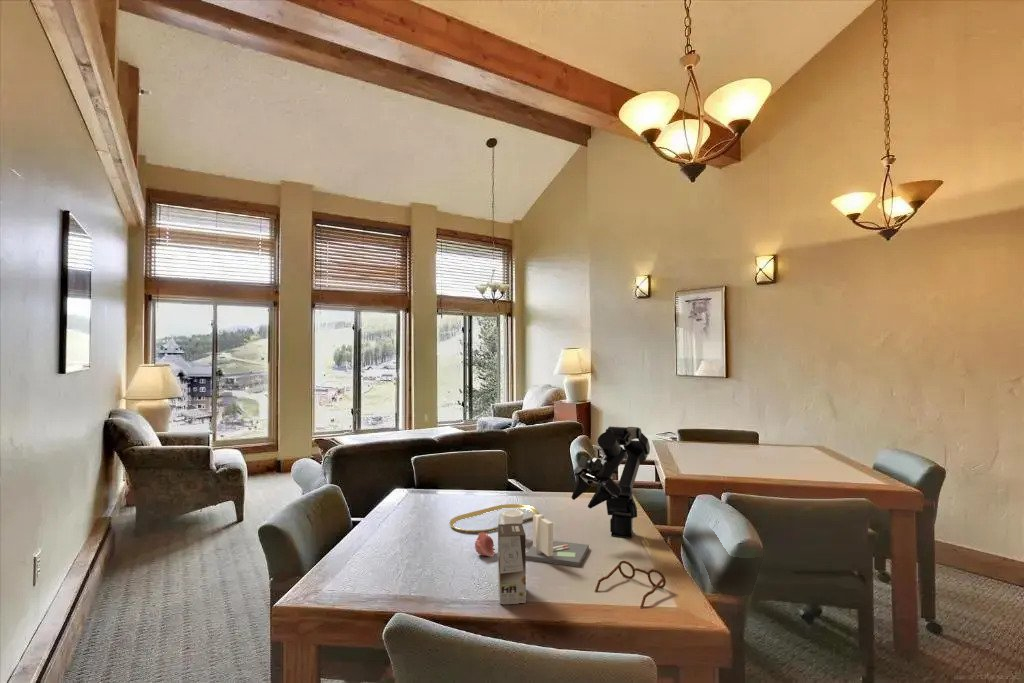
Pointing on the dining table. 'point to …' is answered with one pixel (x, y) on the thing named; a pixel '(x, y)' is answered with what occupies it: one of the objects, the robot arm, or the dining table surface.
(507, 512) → the cup
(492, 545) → the flower
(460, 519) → the yellow oval loop
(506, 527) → the coffee box
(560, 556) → the grey board
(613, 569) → the glasses
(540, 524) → the tuning peg
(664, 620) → the dining table surface
